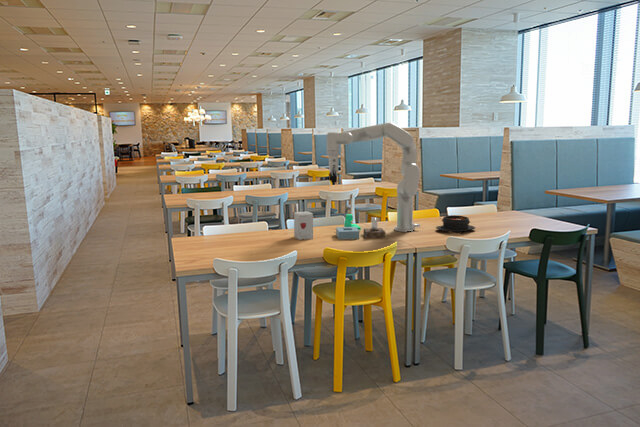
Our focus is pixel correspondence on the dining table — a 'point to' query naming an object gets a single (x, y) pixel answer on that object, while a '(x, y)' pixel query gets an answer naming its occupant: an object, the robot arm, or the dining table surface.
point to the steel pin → (374, 224)
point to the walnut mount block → (374, 233)
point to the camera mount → (348, 222)
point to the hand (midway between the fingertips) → (333, 181)
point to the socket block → (347, 232)
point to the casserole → (455, 224)
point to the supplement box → (303, 225)
